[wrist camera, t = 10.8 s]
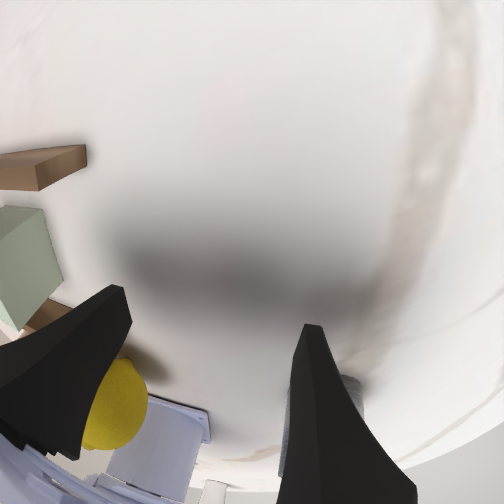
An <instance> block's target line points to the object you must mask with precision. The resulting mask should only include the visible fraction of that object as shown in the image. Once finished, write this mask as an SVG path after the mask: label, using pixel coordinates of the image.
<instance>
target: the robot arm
mask: <svg viewBox="0 0 504 504" xmlns="http://www.w3.org/2000/svg"><path fill="white" fill-rule="evenodd" d="M131 325H132V319H131V315H130V311H129V308H128V304H127V300H126V296H125V292H124V288H123V287H120V286H116V285H113V284H111V285H110V286H108V287H106V288H104V289H103V290H101V291H100V292H98V293H97V294H95V295H94V296H92V297H91V298H89V299H88V300H86V301H85V302H83V303H81V304H80V305H78V306H77V307H75V308H74V309H72V310H71V311H69V312H68V313H66V314H64V315H63V316H61V317H60V318H58V319H56V320H55V321H53V322H52V323H50V324H48V325H46V326H45V327H43V328H41V329H39V330H37V331H35V332H33V333H31V334H29V335H27V336H24V337H22V338H20V339H17V340H15V341H13V342H10V343H7V344H4V345H1V346H0V501H1V502H2V504H180V503H176V502H173V501H170V500H167V499H164V498H161V496H163V497H166V498H169V499H172V500H175V501H179V502H184V500H185V496H186V492H187V489H188V486H189V483H190V479H191V476H192V472H193V469H194V465H195V462H196V458H197V455H198V451H199V448H200V444H201V443H205V444H210V442H211V439H210V431H209V422H208V414H207V413H206V412H204V411H200V410H196V409H192V408H189V407H185V406H181V405H178V404H174V403H171V402H168V401H164V400H161V399H158V398H155V397H152V396H149V395H148V407H147V413H146V416H145V419H144V422H143V424H142V426H141V428H140V429H139V431H138V432H137V434H136V435H135V436H134V438H133V439H132V440H131V441H130V442H129V443H127V444H126V445H124V446H123V447H120V448H118V449H115V450H114V453H113V455H112V457H111V460H110V462H109V465H108V468H107V470H106V473H107V474H109V475H111V476H113V477H115V478H117V479H120V480H122V481H124V482H126V484H124V483H122V482H120V481H118V480H116V479H114V478H111V477H109V476H107V475H105V474H103V473H101V475H98V474H93V475H89V476H87V477H86V478H85V479H84V480H83V481H82V480H80V479H79V478H77V477H75V476H74V475H72V474H70V473H69V472H67V471H66V470H64V469H62V468H61V467H59V466H58V465H56V464H55V463H54V462H52V461H51V460H49V459H48V458H46V457H45V456H46V454H47V452H49V453H50V454H52V455H53V456H55V455H56V453H57V452H59V453H61V454H62V455H64V456H65V457H67V458H69V459H70V460H72V461H75V460H78V459H79V457H80V450H81V444H82V439H83V434H84V430H85V426H86V422H87V419H88V416H89V413H90V409H91V406H92V404H93V401H94V398H95V396H96V393H97V391H98V388H99V386H100V384H101V382H102V380H103V378H104V376H105V375H106V373H107V371H108V369H109V368H110V366H111V364H112V362H113V361H114V359H115V357H116V355H117V354H118V352H119V350H120V348H121V347H122V345H123V343H124V341H125V339H126V337H127V334H128V332H129V329H130V327H131ZM51 478H53V479H54V480H56V481H57V482H58V483H60V484H61V485H60V484H57V483H55V482H53V481H52V479H51ZM62 485H63V486H62ZM64 486H65V487H64ZM417 498H418V494H417V488H416V485H415V484H414V483H413V482H412V481H411V480H410V479H409V478H408V477H407V476H406V475H405V474H404V473H403V472H402V471H401V470H400V469H399V468H398V466H397V465H396V464H395V463H394V462H393V461H392V459H391V458H390V457H389V456H388V455H387V453H386V452H385V451H384V449H383V448H382V446H381V445H380V444H379V442H378V441H377V440H376V438H375V437H374V436H373V434H372V433H371V431H370V430H369V428H368V426H367V425H366V423H365V422H364V420H363V418H362V417H361V415H360V413H359V412H358V410H357V408H356V406H355V404H354V403H353V401H352V399H351V397H350V395H349V393H348V391H347V389H346V387H345V384H344V382H343V380H342V378H341V376H340V373H339V371H338V369H337V366H336V364H335V361H334V359H333V356H332V354H331V351H330V349H329V346H328V343H327V340H326V337H325V334H324V331H323V328H322V327H321V326H318V325H311V324H304V327H303V330H302V333H301V336H300V339H299V341H298V344H297V347H296V350H295V353H294V356H293V362H292V370H291V378H290V422H289V439H288V446H287V453H286V459H285V465H284V470H283V476H282V481H281V485H280V490H279V494H278V499H277V503H276V504H418V503H417V501H418V499H417Z"/></svg>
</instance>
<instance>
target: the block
mask: <svg viewBox="0 0 504 504" xmlns="http://www.w3.org/2000/svg"><path fill="white" fill-rule="evenodd" d="M63 281H64V280H63V278H62V275H61V272H60V269H59V266H58V263H57V260H56V257H55V254H54V251H53V247H52V244H51V241H50V237H49V233H48V230H47V226H46V222H45V218H44V214H43V209H35V208H25V207H15V206H3V207H2V208H0V320H2V321H3V322H5V323H6V324H8V325H9V326H11V327H12V328H14V329H15V330H17V331H18V332H19V331H20V330H21V329H22V328H23V326H24V325H25V324H26V323H27V322H28V320H29V319H30V318H31V317H32V316H33V314H34V313H35V312H36V311H37V310H38V309H39V307H40V306H41V305H42V304H43V303H44V302H45V301H46V299H47V298H48V297H49V296H50V295H51V294H52V293H53V292H54V291H55V289H56V288H57V287H58V286H59V285H60V284H61V283H62V282H63Z"/></svg>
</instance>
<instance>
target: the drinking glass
mask: <svg viewBox="0 0 504 504" xmlns="http://www.w3.org/2000/svg"><path fill="white" fill-rule="evenodd" d="M226 489H227V485H226V484H225V483H222V482H218V481H213V480H207V481H206V482H205V486H204V489H203V492H202V495H201V497H200V500H199V502H198V504H224V503H225V494H226Z"/></svg>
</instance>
